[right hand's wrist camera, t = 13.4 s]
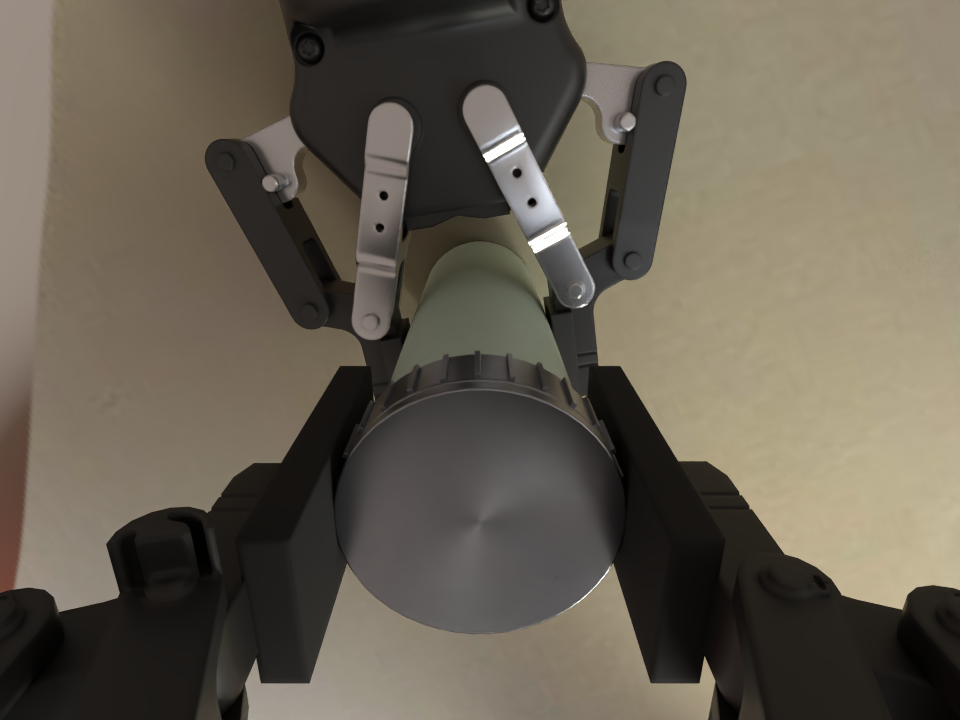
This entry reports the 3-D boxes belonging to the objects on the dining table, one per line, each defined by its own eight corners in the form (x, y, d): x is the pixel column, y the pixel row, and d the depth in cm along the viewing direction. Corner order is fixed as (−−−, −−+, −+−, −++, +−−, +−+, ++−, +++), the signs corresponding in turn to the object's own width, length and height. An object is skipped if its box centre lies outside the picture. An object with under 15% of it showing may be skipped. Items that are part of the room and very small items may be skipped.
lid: (323, 541, 13) (300, 597, 11) (387, 313, 11) (372, 343, 9) (555, 602, 13) (566, 664, 12) (654, 395, 12) (682, 437, 10)
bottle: (412, 328, 26) (327, 573, 12) (443, 225, 24) (390, 358, 10) (513, 360, 27) (554, 631, 12) (550, 261, 25) (648, 436, 10)
